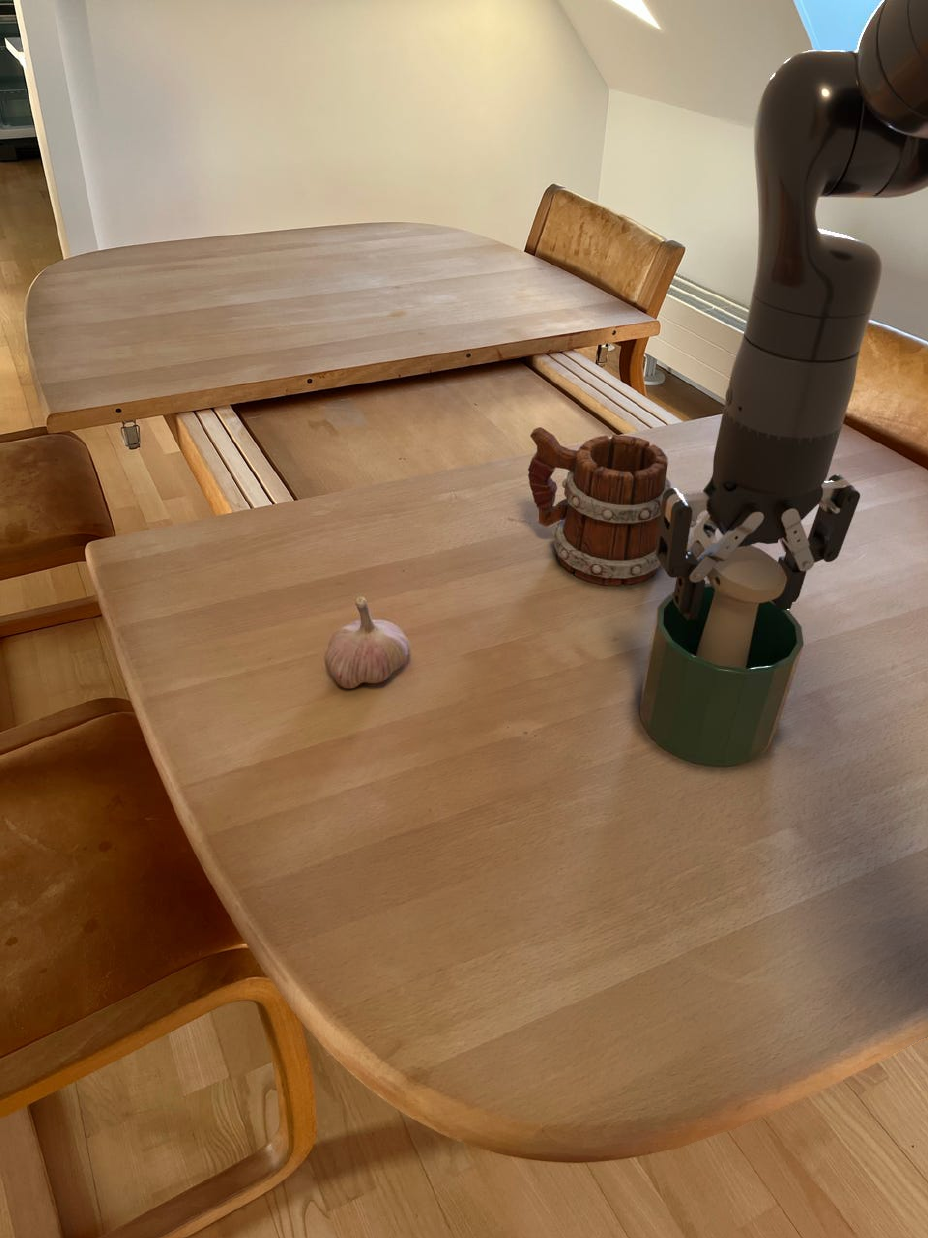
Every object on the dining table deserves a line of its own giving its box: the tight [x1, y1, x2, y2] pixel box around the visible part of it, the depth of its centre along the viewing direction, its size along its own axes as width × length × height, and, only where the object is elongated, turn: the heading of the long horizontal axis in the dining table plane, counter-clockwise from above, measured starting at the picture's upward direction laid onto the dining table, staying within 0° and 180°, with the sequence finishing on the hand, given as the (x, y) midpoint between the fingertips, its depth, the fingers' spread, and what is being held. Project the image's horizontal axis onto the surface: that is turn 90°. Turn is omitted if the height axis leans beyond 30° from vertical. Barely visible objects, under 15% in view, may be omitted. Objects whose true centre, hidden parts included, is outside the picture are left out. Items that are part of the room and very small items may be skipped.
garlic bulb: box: [324, 596, 412, 689], centre depth 80 cm, size 8×7×8 cm
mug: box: [527, 426, 672, 587], centre depth 93 cm, size 12×14×15 cm
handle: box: [696, 544, 787, 669], centre depth 73 cm, size 5×6×15 cm
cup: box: [639, 582, 805, 768], centre depth 75 cm, size 11×11×10 cm
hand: (733, 608), depth 71 cm, fingers open, 7 cm apart
